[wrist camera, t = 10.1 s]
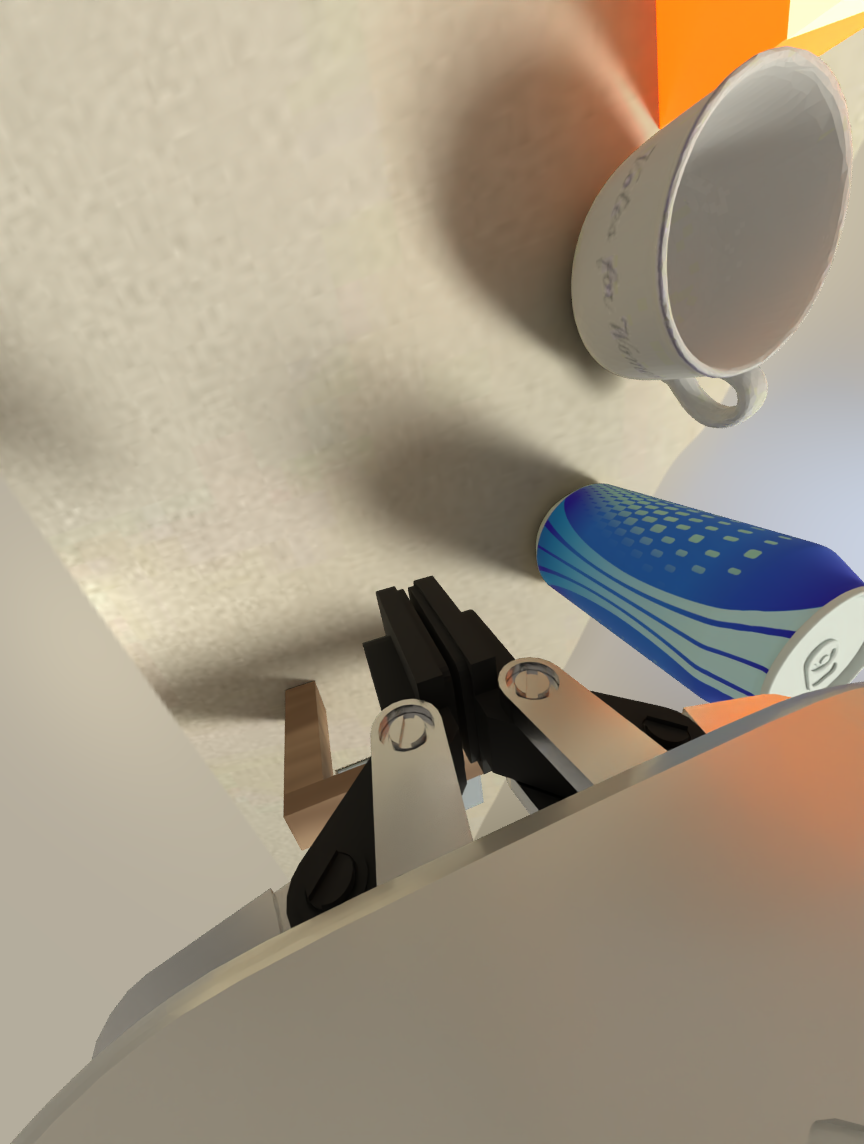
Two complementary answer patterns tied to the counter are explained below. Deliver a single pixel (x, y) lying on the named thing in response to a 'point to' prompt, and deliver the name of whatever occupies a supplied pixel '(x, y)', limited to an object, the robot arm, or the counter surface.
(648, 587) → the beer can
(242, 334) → the counter surface
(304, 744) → the bridge
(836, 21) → the orange juice
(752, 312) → the teacup
